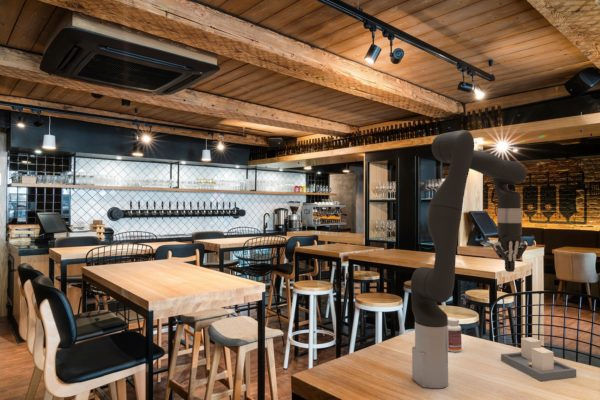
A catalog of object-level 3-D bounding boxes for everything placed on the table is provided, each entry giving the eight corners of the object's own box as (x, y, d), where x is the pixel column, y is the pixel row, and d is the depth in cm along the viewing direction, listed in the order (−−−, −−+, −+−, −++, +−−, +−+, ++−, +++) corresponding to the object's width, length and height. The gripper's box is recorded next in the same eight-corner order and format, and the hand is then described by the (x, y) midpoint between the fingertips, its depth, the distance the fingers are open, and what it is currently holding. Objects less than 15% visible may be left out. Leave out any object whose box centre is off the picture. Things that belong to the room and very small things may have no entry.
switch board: (540, 381, 116) (540, 373, 116) (501, 360, 131) (500, 353, 131) (576, 376, 119) (576, 369, 119) (533, 357, 134) (533, 350, 134)
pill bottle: (464, 349, 142) (464, 318, 142) (456, 354, 137) (456, 322, 138) (447, 345, 146) (447, 315, 146) (440, 349, 142) (439, 318, 142)
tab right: (542, 373, 118) (542, 353, 118) (531, 368, 122) (531, 348, 122) (553, 372, 119) (553, 352, 119) (542, 366, 123) (542, 347, 123)
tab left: (531, 360, 127) (530, 342, 128) (521, 356, 131) (521, 338, 131) (541, 359, 128) (541, 341, 129) (531, 355, 132) (531, 337, 132)
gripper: (500, 222, 131) (501, 274, 131) (534, 221, 134) (534, 272, 134) (485, 221, 139) (485, 270, 138) (517, 221, 142) (517, 269, 141)
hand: (509, 271), depth 136 cm, fingers closed
